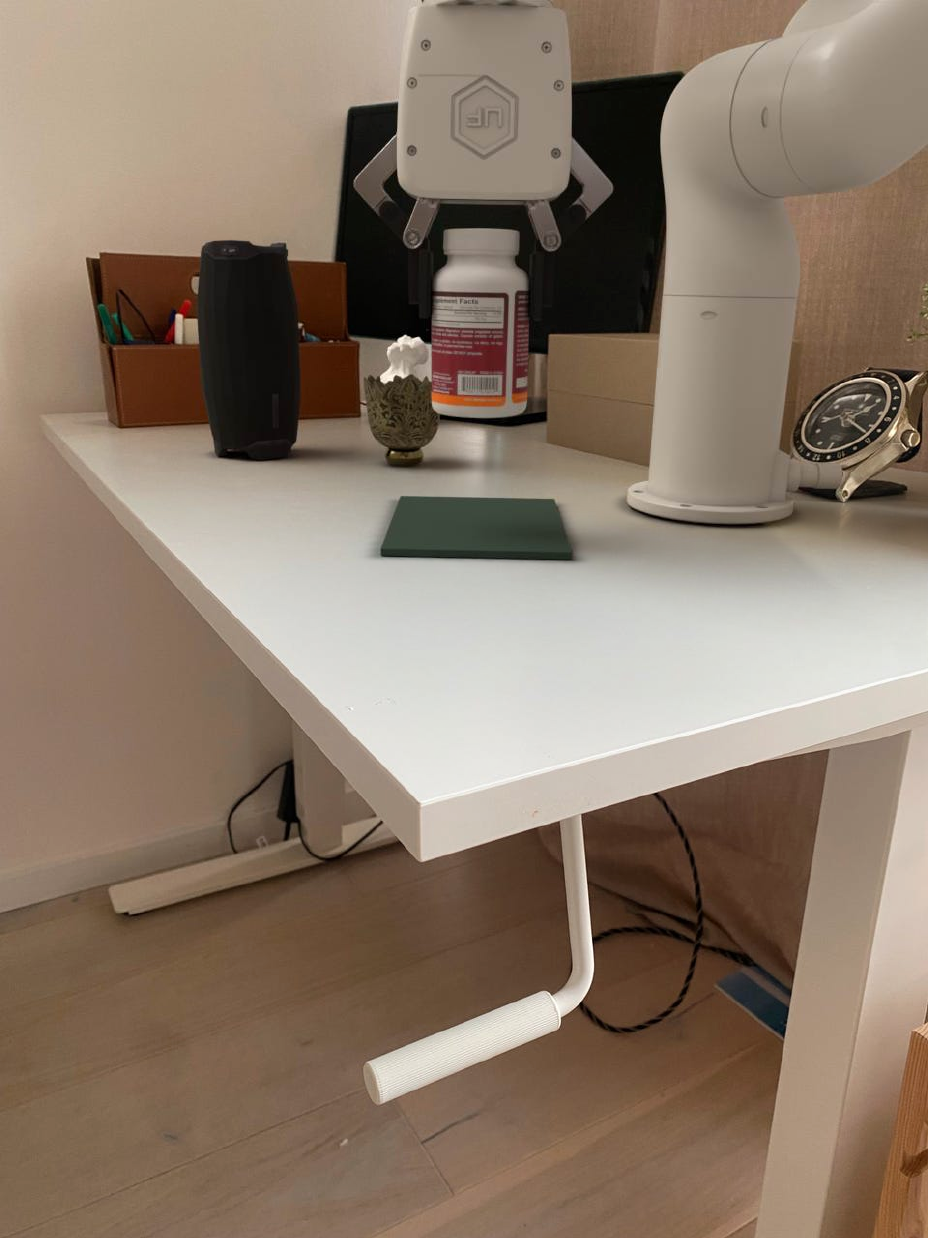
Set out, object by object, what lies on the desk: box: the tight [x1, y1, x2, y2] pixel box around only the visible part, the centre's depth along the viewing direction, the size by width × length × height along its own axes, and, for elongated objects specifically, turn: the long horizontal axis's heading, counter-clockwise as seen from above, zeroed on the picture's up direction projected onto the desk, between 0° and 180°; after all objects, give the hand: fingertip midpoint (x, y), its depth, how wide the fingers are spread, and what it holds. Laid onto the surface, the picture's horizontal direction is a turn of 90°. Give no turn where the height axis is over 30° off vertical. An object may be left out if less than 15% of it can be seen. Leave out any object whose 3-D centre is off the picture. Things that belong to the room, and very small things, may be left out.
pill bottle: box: [430, 227, 530, 419], centre depth 62 cm, size 6×6×11 cm
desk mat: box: [379, 495, 573, 560], centre depth 69 cm, size 12×16×1 cm
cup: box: [363, 374, 441, 467], centre depth 92 cm, size 8×7×8 cm
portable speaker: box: [196, 239, 301, 461], centre depth 94 cm, size 9×9×20 cm
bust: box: [380, 334, 429, 385], centre depth 119 cm, size 12×8×11 cm
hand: (480, 315), depth 62 cm, fingers closed on pill bottle, 6 cm apart
